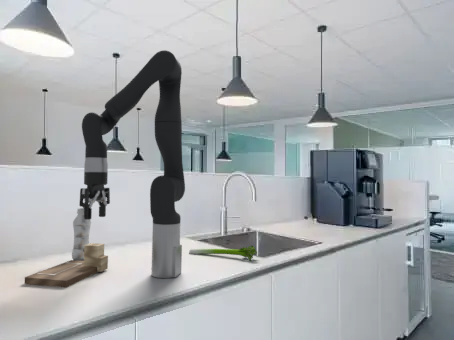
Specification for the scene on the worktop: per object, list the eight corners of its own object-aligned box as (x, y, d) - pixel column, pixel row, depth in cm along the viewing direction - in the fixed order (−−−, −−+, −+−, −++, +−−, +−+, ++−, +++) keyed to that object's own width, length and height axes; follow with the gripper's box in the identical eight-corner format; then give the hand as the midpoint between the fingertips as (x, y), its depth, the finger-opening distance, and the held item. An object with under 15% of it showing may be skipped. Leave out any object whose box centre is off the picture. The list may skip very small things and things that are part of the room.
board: (106, 268, 113) (106, 262, 113) (66, 287, 92) (66, 280, 92) (71, 265, 116) (71, 259, 116) (24, 283, 95) (24, 276, 95)
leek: (194, 256, 142) (260, 257, 132) (187, 262, 135) (255, 263, 125) (193, 242, 141) (258, 243, 131) (186, 247, 135) (254, 248, 125)
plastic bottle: (69, 263, 118) (71, 209, 119) (73, 258, 125) (75, 208, 126) (88, 262, 120) (90, 209, 121) (91, 258, 127) (92, 207, 127)
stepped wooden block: (107, 268, 111) (108, 244, 111) (101, 271, 107) (101, 246, 107) (87, 267, 112) (88, 242, 112) (80, 270, 108) (81, 245, 108)
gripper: (93, 170, 103) (93, 220, 102) (116, 171, 117) (116, 216, 116) (73, 170, 104) (72, 220, 104) (98, 172, 118) (97, 215, 118)
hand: (95, 218), depth 110 cm, fingers open, 8 cm apart
